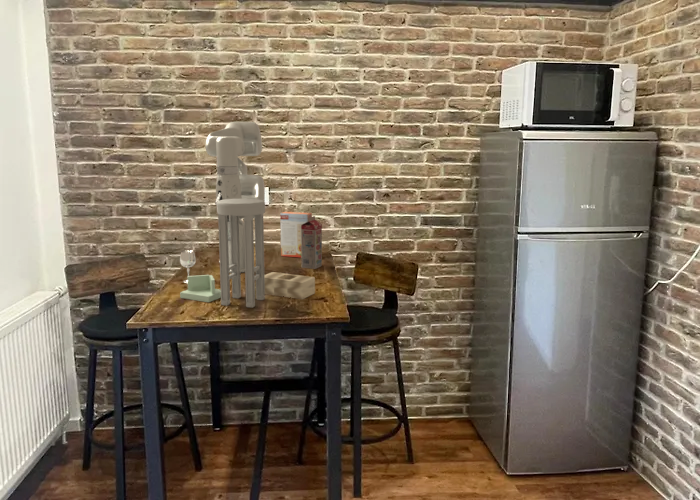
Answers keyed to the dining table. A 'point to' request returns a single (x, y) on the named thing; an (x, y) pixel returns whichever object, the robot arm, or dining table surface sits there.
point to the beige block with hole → (289, 285)
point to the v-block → (201, 289)
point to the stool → (234, 211)
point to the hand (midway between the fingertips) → (229, 220)
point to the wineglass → (187, 260)
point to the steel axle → (229, 230)
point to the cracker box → (292, 232)
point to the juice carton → (311, 244)
